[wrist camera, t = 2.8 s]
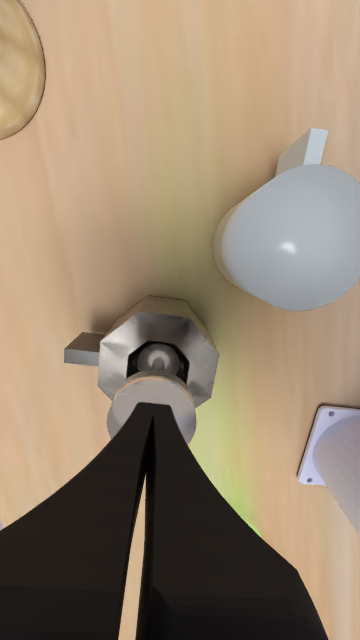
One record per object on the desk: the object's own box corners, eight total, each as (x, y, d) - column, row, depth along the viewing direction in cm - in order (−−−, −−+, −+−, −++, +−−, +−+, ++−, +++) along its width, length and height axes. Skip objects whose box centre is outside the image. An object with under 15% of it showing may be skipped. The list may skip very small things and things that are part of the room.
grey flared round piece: (190, 337, 16) (202, 388, 10) (182, 387, 17) (189, 464, 11) (133, 330, 16) (109, 379, 10) (128, 382, 17) (104, 456, 11)
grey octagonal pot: (211, 303, 19) (225, 322, 14) (197, 384, 21) (205, 425, 16) (90, 288, 19) (61, 301, 14) (86, 372, 20) (59, 411, 15)
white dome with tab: (318, 175, 17) (412, 126, 11) (288, 295, 19) (351, 318, 13) (226, 159, 17) (263, 98, 10) (206, 284, 19) (225, 302, 12)
